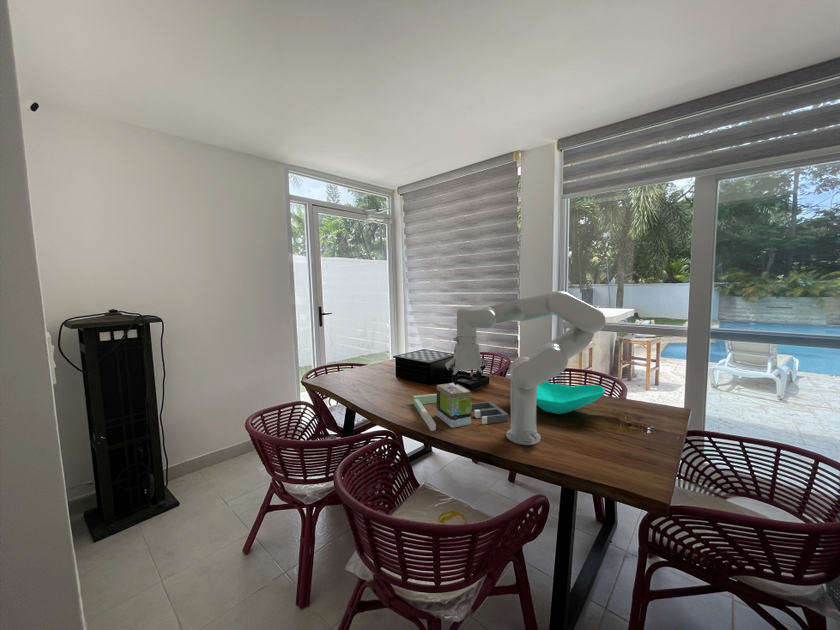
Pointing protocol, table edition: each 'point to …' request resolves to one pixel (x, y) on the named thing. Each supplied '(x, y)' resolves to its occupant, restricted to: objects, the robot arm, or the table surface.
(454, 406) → the tea box
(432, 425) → the lane
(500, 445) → the table surface
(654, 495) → the table surface
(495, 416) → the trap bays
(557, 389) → the table top decor
